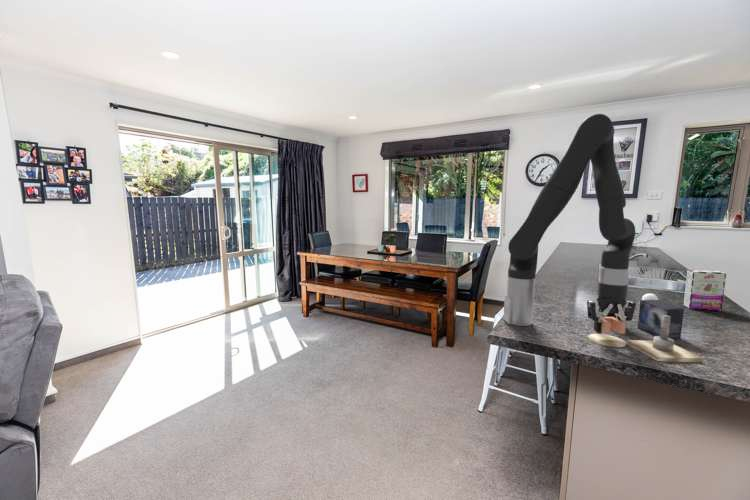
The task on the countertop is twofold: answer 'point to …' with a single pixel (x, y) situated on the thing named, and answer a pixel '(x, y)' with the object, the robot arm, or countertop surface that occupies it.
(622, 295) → the robot arm
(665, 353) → the peg stand
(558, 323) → the countertop surface
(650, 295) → the capsule
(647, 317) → the small box
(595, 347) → the countertop surface
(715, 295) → the candy bar box
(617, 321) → the c link
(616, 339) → the coaster
